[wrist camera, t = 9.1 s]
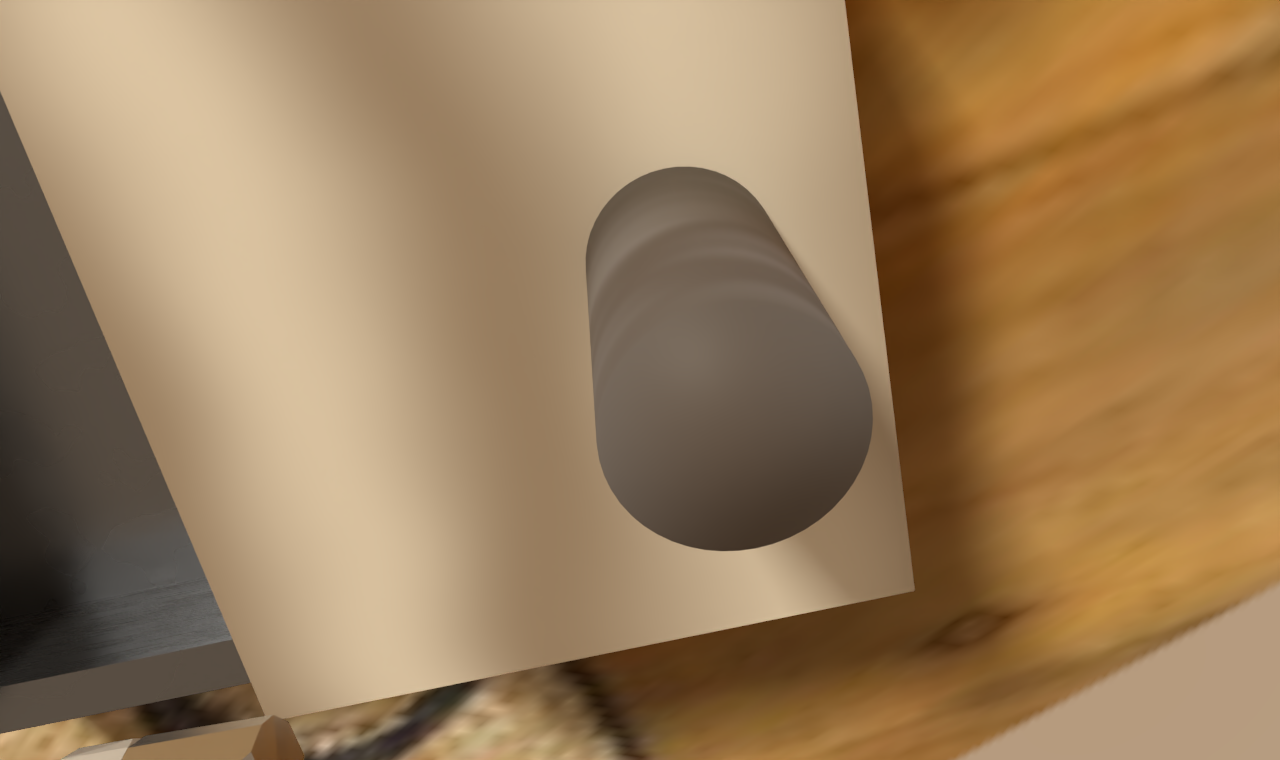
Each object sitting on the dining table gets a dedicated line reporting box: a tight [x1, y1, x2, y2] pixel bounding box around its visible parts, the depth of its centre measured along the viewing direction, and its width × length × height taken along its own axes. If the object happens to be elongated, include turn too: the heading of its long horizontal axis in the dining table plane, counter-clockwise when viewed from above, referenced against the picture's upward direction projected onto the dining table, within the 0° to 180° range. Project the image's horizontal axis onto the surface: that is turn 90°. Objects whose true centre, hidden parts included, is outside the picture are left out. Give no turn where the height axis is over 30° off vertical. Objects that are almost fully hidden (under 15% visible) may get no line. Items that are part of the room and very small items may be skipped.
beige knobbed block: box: [0, 0, 915, 719], centre depth 18 cm, size 12×14×13 cm
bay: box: [0, 92, 251, 734], centre depth 23 cm, size 22×18×6 cm
